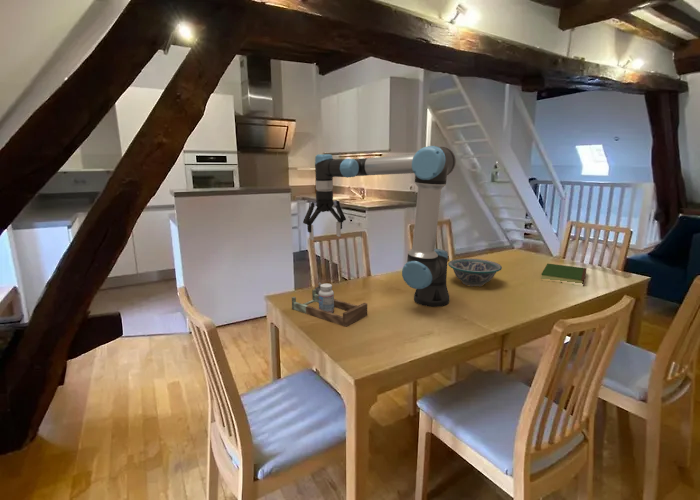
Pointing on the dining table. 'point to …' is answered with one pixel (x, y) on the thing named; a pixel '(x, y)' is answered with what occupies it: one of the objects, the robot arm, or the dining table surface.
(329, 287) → the pill bottle
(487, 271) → the bowl
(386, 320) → the dining table surface
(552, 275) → the hardcover book
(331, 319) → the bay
